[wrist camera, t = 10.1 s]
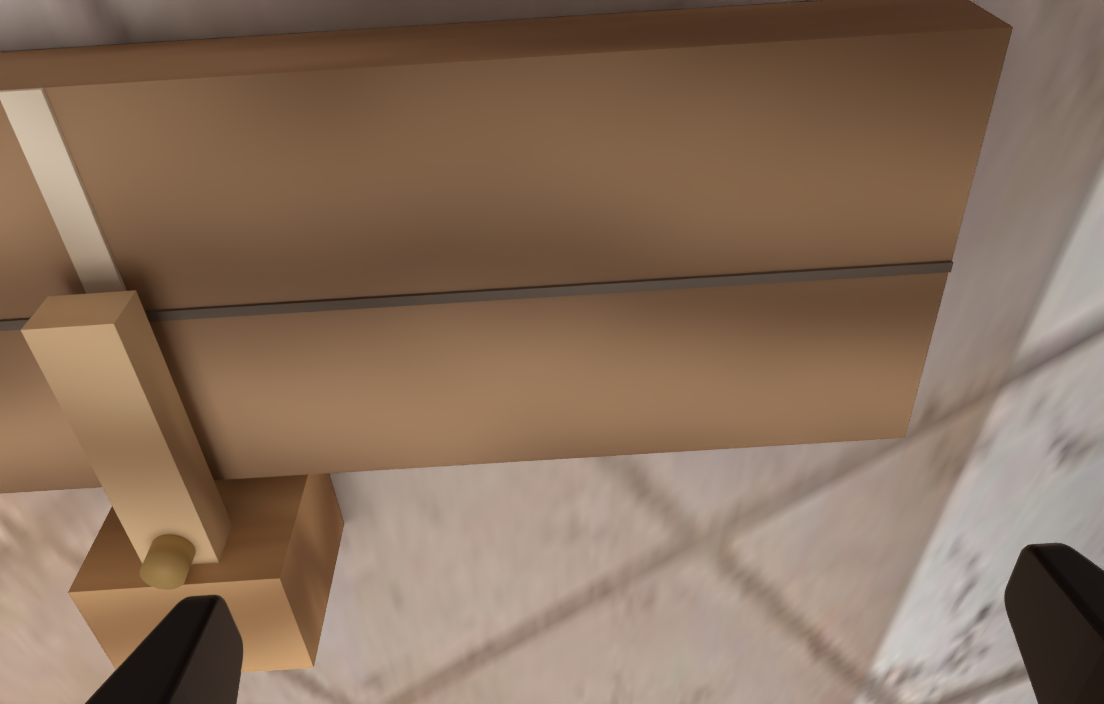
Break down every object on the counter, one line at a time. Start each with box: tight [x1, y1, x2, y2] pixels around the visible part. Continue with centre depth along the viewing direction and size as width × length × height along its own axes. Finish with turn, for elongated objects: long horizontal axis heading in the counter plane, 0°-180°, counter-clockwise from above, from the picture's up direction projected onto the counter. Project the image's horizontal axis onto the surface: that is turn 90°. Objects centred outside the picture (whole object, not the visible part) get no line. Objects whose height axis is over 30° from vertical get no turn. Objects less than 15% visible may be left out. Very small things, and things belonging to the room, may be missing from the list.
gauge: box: [21, 290, 344, 672], centre depth 21 cm, size 11×5×5 cm, turn 3°
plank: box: [0, 0, 1013, 493], centre depth 19 cm, size 10×26×3 cm, turn 93°
